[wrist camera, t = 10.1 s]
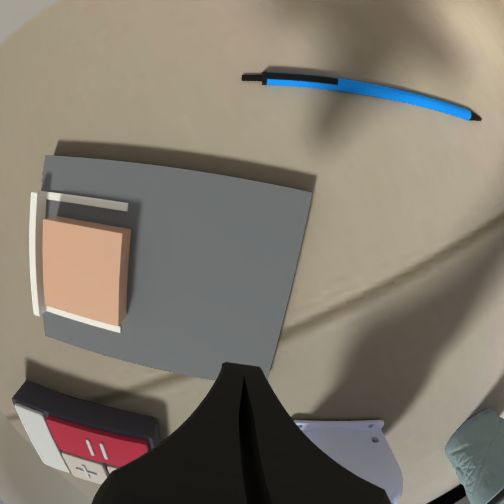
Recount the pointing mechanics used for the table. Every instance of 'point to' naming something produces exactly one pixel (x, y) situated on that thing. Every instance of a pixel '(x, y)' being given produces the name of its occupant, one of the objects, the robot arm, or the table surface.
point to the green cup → (480, 457)
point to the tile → (86, 268)
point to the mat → (178, 261)
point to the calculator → (83, 432)
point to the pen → (360, 90)
